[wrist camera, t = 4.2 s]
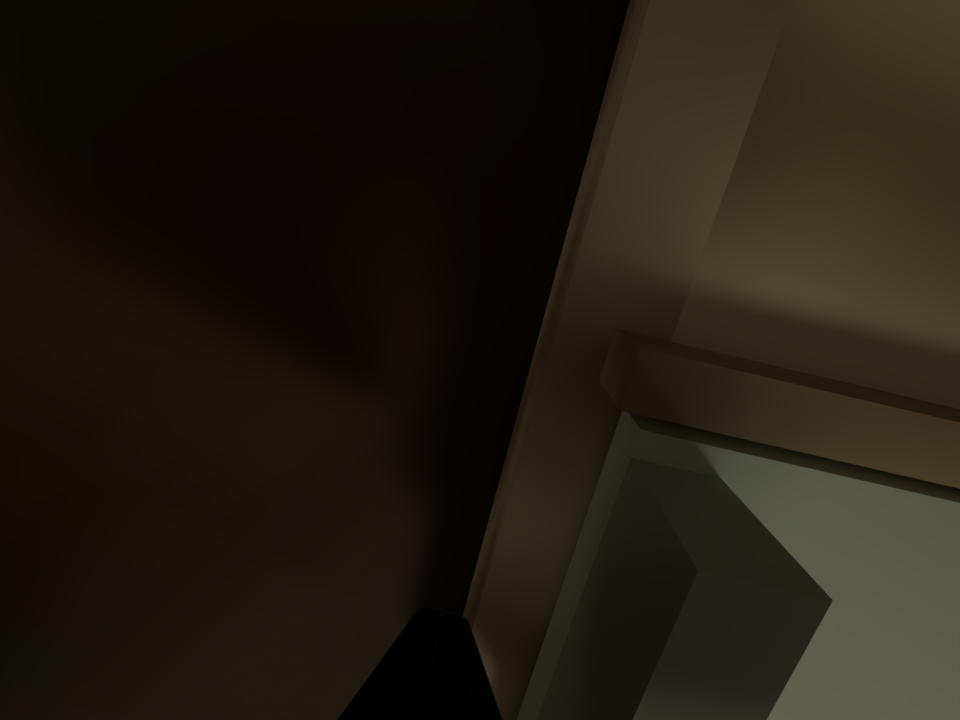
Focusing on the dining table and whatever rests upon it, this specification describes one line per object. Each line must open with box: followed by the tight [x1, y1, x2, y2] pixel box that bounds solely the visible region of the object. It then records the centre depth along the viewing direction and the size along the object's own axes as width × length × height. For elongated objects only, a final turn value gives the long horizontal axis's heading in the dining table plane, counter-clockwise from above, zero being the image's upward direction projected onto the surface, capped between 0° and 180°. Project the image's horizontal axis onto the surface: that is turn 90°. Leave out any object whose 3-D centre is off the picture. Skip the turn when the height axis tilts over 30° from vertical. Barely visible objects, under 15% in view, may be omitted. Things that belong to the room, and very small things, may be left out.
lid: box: [517, 411, 960, 720], centre depth 7 cm, size 8×8×4 cm
